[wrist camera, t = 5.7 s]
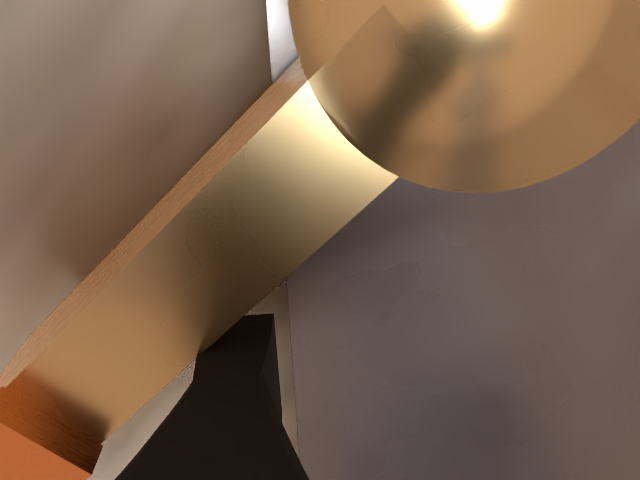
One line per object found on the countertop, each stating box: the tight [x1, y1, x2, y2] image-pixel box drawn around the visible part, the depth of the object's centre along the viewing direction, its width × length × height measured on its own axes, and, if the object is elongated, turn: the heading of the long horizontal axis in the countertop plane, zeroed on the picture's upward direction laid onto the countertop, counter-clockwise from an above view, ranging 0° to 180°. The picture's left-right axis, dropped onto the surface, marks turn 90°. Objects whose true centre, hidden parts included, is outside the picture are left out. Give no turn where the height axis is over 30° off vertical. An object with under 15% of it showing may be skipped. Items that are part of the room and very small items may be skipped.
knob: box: [0, 0, 640, 480], centre depth 7 cm, size 11×4×3 cm, turn 133°
